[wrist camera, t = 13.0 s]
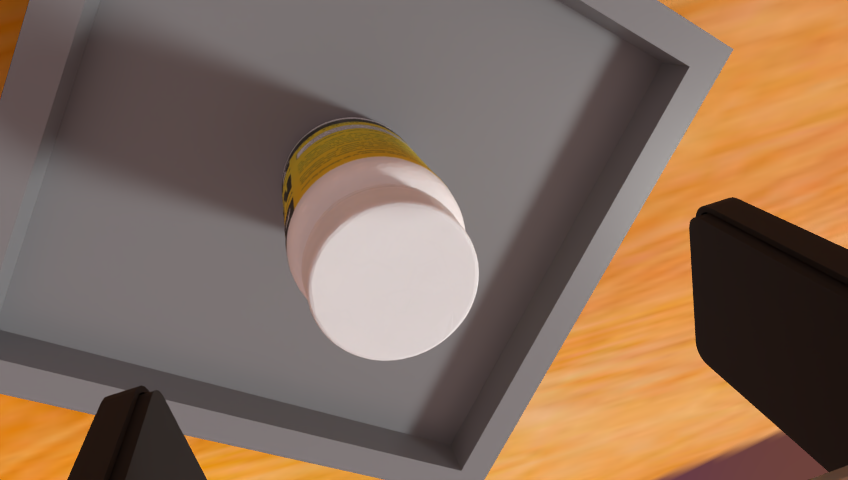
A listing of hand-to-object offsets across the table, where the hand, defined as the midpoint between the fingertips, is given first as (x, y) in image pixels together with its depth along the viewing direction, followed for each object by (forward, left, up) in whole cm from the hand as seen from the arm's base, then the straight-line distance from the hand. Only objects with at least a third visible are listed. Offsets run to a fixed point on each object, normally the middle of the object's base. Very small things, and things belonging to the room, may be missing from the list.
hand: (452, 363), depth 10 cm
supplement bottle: (0, 0, -12) cm, 12 cm away
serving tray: (+1, 0, -13) cm, 13 cm away
